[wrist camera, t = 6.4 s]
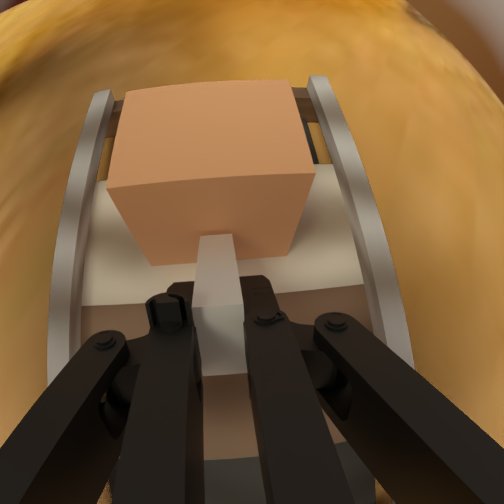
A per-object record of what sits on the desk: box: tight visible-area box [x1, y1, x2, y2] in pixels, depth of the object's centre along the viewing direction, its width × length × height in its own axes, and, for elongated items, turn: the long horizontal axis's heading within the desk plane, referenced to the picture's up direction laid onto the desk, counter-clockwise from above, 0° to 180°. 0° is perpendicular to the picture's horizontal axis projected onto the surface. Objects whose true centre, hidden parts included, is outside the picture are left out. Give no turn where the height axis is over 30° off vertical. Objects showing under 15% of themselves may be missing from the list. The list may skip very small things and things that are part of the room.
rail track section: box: [47, 75, 415, 504], centre depth 19 cm, size 36×20×4 cm, turn 6°
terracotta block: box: [106, 80, 316, 266], centre depth 17 cm, size 6×8×8 cm
